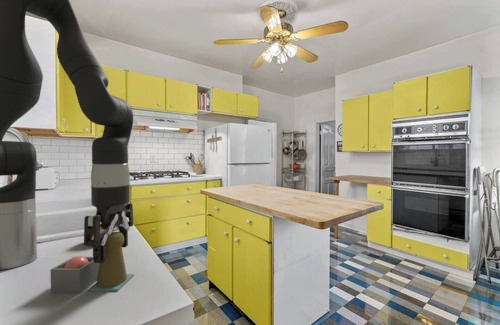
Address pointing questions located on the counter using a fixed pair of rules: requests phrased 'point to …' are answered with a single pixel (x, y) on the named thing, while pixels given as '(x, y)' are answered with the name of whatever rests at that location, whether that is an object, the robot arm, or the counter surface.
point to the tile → (115, 288)
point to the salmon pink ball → (76, 262)
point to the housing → (73, 277)
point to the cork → (112, 262)
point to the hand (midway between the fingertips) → (112, 253)
